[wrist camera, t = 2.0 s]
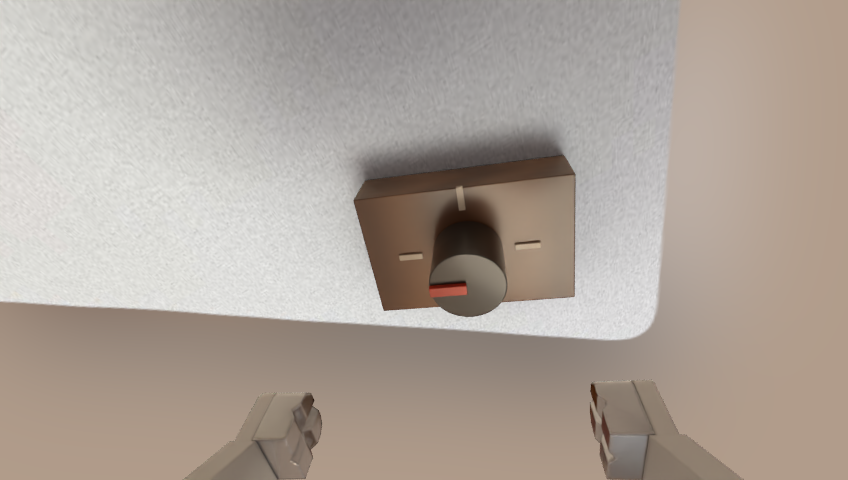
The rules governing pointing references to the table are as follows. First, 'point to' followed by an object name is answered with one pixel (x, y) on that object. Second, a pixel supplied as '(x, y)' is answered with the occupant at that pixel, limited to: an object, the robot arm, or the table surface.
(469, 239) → the knob
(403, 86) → the table surface
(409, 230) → the walnut panel
